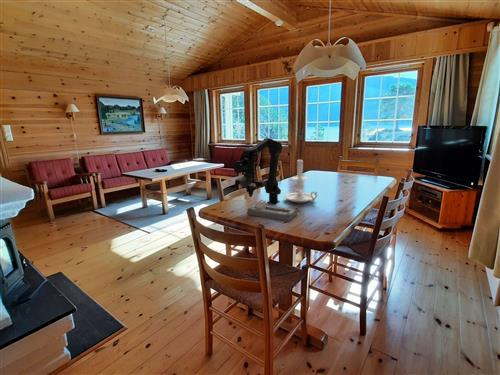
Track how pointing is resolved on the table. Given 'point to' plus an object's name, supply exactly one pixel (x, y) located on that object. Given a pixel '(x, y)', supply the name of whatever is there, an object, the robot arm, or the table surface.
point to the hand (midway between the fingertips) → (250, 196)
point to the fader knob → (261, 204)
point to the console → (273, 212)
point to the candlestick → (300, 187)
